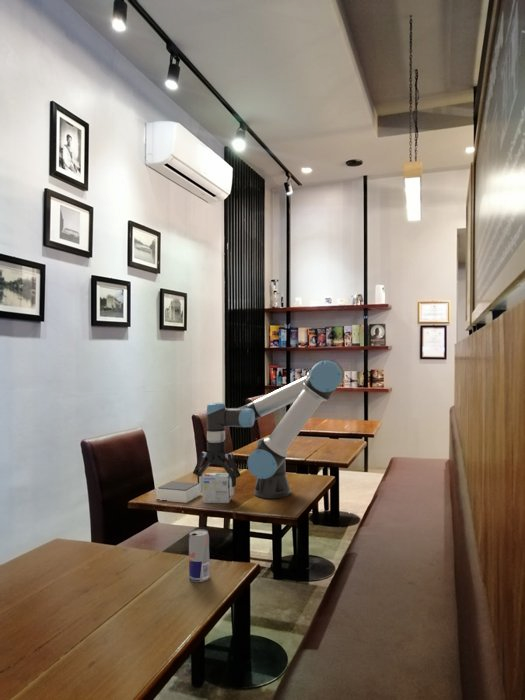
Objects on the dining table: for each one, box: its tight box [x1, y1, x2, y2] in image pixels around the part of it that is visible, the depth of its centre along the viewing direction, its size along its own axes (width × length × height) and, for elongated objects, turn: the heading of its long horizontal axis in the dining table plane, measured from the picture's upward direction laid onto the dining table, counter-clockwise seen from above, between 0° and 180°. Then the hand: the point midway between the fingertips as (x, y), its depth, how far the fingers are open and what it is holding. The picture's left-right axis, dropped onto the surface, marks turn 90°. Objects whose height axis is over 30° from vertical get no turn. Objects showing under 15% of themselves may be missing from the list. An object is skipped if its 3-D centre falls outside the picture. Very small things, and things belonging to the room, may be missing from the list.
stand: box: [155, 480, 201, 503], centre depth 210 cm, size 14×12×5 cm
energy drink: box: [188, 528, 211, 583], centre depth 132 cm, size 5×5×12 cm
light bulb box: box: [202, 472, 232, 504], centre depth 204 cm, size 11×7×11 cm, turn 84°
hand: (216, 493), depth 204 cm, fingers open, 13 cm apart
